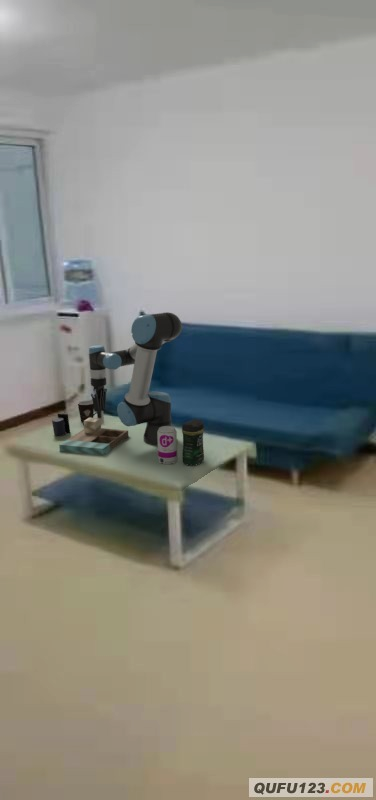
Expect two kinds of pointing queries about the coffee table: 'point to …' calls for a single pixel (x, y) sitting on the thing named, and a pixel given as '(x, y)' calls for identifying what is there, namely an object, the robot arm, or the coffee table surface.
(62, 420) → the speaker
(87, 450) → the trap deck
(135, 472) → the coffee table surface
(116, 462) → the coffee table surface
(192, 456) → the coffee jar
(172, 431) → the supplement can
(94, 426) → the birch block
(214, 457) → the coffee table surface
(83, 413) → the coffee mug
